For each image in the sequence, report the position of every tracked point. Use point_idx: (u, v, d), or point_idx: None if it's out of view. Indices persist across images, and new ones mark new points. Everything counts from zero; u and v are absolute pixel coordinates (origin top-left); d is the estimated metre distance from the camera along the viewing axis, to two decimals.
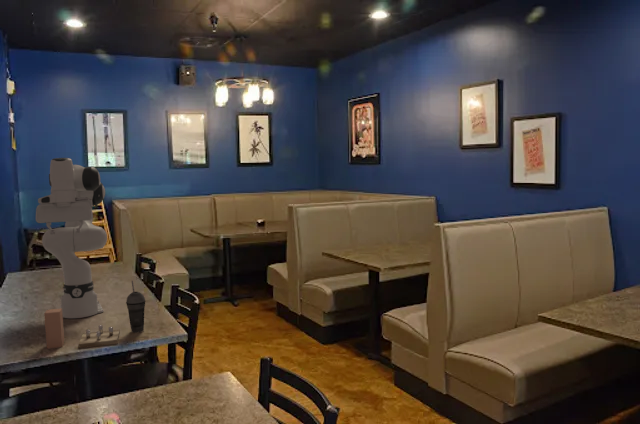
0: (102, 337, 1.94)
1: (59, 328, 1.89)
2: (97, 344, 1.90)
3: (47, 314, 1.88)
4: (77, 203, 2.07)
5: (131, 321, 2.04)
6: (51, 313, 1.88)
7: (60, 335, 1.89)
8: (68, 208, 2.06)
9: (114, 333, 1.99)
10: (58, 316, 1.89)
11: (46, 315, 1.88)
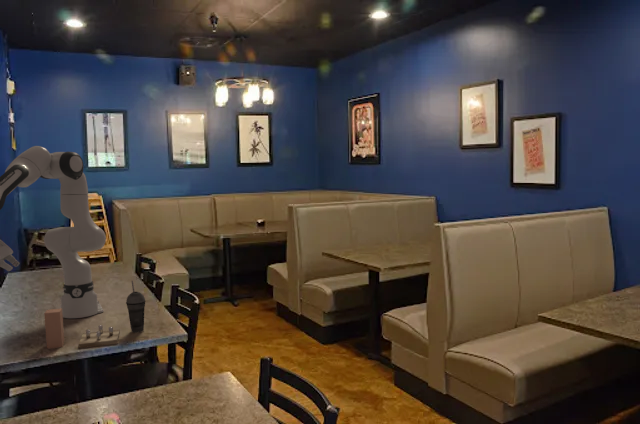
0: (102, 337, 1.94)
1: (59, 328, 1.89)
2: (97, 344, 1.90)
3: (47, 314, 1.88)
4: None
5: (131, 321, 2.04)
6: (51, 313, 1.88)
7: (60, 335, 1.89)
8: None
9: (114, 333, 1.99)
10: (58, 316, 1.89)
11: (46, 315, 1.88)
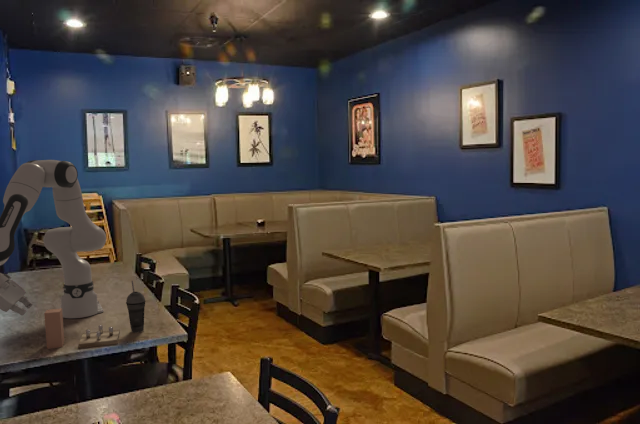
0: (102, 337, 1.94)
1: (59, 328, 1.89)
2: (97, 344, 1.90)
3: (47, 314, 1.88)
4: None
5: (131, 321, 2.04)
6: (51, 313, 1.88)
7: (60, 335, 1.89)
8: None
9: (114, 333, 1.99)
10: (58, 316, 1.89)
11: (46, 315, 1.88)
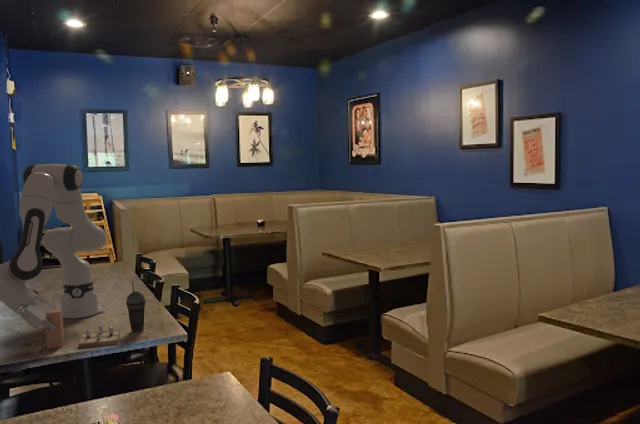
0: (102, 337, 1.94)
1: (59, 328, 1.89)
2: (97, 344, 1.90)
3: (47, 314, 1.88)
4: None
5: (131, 321, 2.04)
6: (51, 313, 1.88)
7: (60, 335, 1.89)
8: None
9: (114, 333, 1.99)
10: (58, 316, 1.89)
11: None
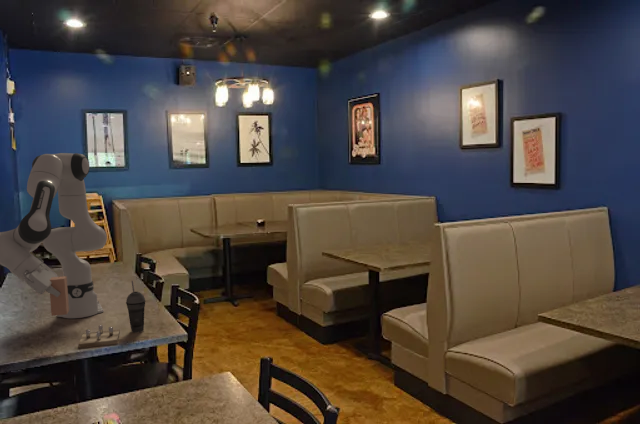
0: (102, 337, 1.94)
1: (64, 295, 1.89)
2: (97, 344, 1.90)
3: (52, 281, 1.87)
4: None
5: (131, 321, 2.04)
6: (56, 280, 1.88)
7: (65, 302, 1.89)
8: None
9: (114, 333, 1.99)
10: (63, 283, 1.88)
11: None
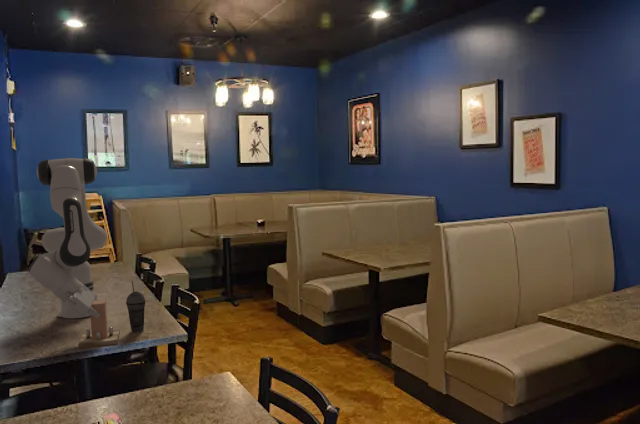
0: None
1: (104, 319, 1.94)
2: (97, 344, 1.90)
3: (92, 305, 1.92)
4: None
5: (131, 321, 2.04)
6: (96, 304, 1.92)
7: (104, 326, 1.94)
8: None
9: (114, 333, 1.99)
10: (103, 307, 1.93)
11: None
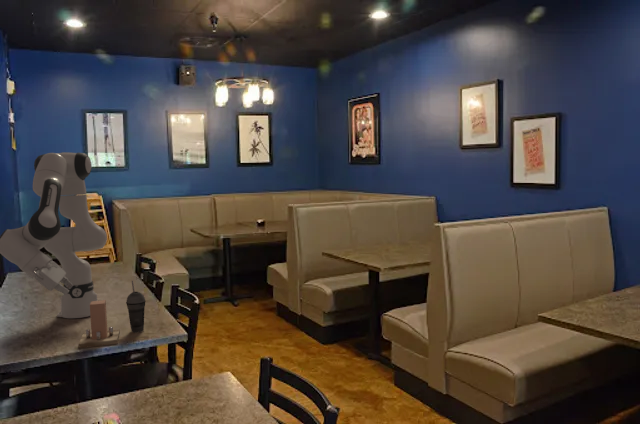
0: None
1: (104, 319, 1.94)
2: (97, 344, 1.90)
3: (92, 305, 1.92)
4: None
5: (131, 321, 2.04)
6: (96, 304, 1.92)
7: (104, 326, 1.94)
8: None
9: (114, 333, 1.99)
10: (103, 307, 1.93)
11: (91, 307, 1.92)
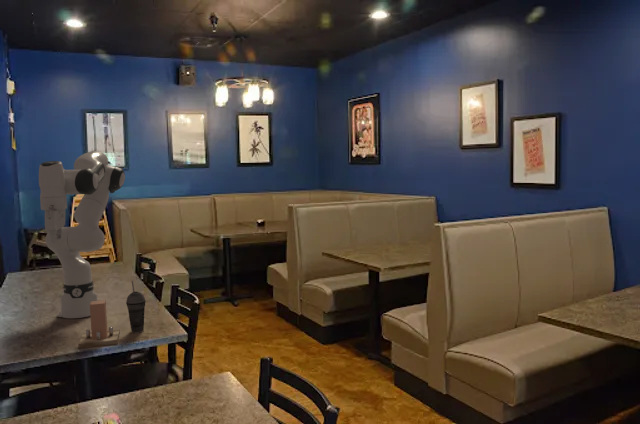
0: None
1: (104, 319, 1.94)
2: (97, 344, 1.90)
3: (92, 305, 1.92)
4: None
5: (131, 321, 2.04)
6: (96, 304, 1.92)
7: (104, 326, 1.94)
8: None
9: (114, 333, 1.99)
10: (103, 307, 1.93)
11: (91, 307, 1.92)
